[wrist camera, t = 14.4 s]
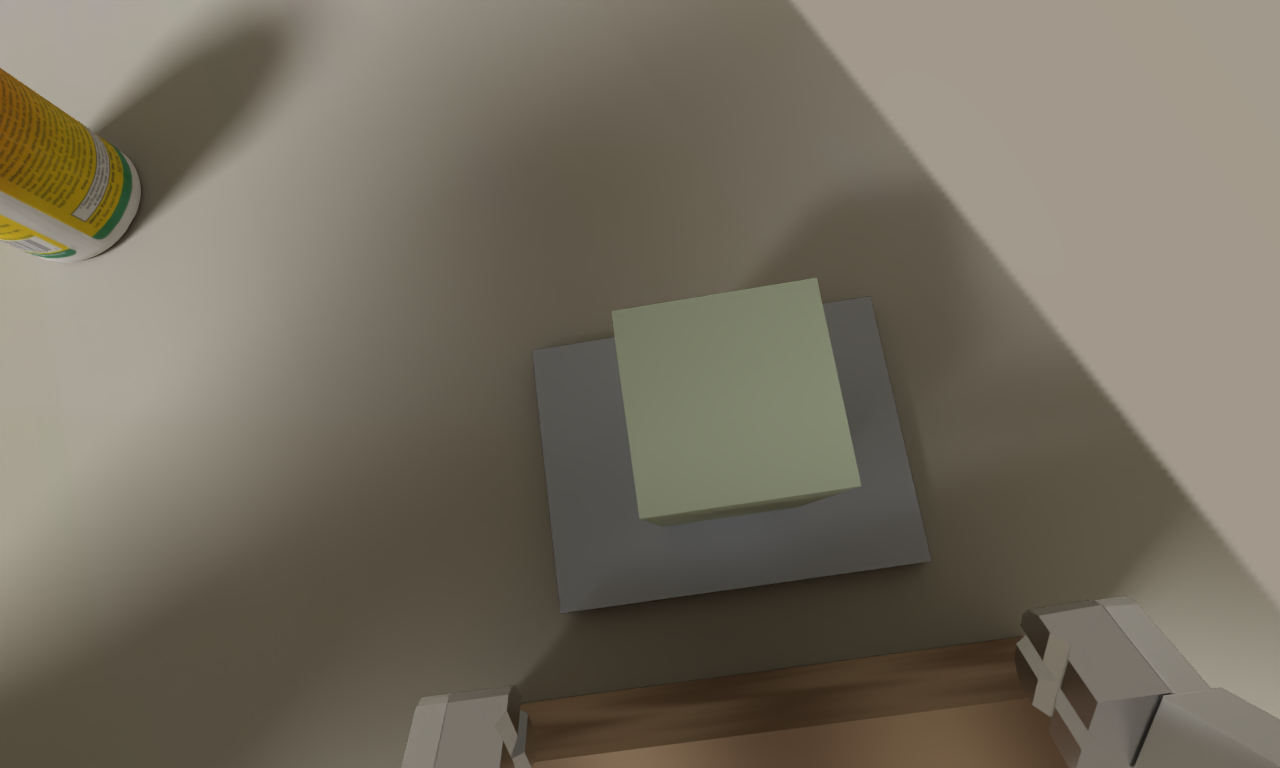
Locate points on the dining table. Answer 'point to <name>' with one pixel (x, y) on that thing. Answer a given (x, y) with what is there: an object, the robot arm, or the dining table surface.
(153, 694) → the dining table surface
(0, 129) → the supplement bottle
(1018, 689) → the walnut screen
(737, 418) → the olive letter block
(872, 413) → the display mat
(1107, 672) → the robot arm
